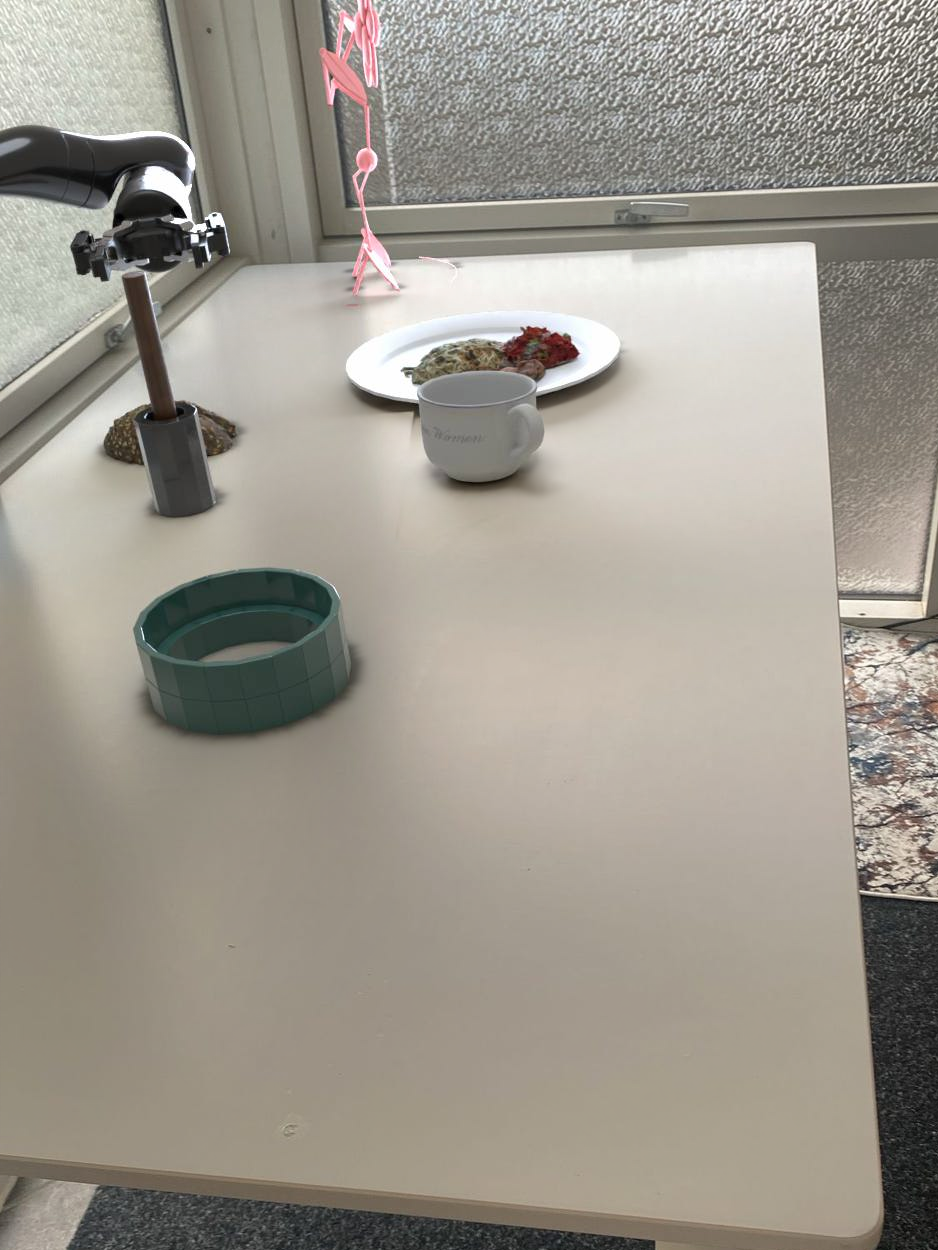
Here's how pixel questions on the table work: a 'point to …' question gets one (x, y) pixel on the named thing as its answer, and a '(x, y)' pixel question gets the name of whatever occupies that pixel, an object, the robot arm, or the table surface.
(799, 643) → the table surface
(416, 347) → the plated food
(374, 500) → the table surface
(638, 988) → the table surface
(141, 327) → the stick
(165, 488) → the holder
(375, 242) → the figurine
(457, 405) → the teacup
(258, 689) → the ring
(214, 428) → the bread roll
